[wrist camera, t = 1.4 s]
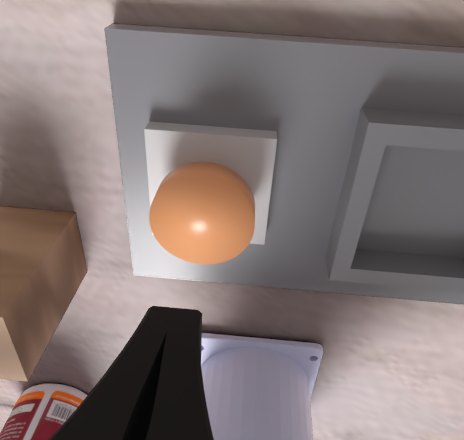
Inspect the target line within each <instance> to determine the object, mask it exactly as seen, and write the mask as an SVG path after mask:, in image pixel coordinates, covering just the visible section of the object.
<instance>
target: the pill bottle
mask: <svg viewBox="0 0 464 440" xmlns="http://www.w3.org/2000/svg"><path fill="white" fill-rule="evenodd" d="M86 397H87V394H85V393H84V392H82V391H80V390H78V389H76V388H73V387H71V386H67V385H61V384H40V385H35V386H32V387H30V388H28V389H27V390H25V391H24V392H23V393H22V394H21V396H20V397H19V399H18V401H17V402H16V404H15V406H14V408H13V410H12V412H11V414H10V416H9V418H8V420H7V422H6V423H5V425H4V427H3V429H2V431H1V433H0V440H49V439H50V438H51V436H52V435H53V434H54V433H55V432H56V431H57V430H58V429H59V428H60V427H61V426H62V425H63V423H64V422H65V421H66V420H67V419H68V418H69V417H70V416H71V414H72V413H73V412H74V411H75V410H76V409H77V408H78V406H79V405H80V404H81V403H82V402H83V400H84V399H85V398H86Z"/></svg>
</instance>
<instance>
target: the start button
mask: <svg viewBox="0 0 464 440" xmlns="http://www.w3.org/2000/svg"><path fill="white" fill-rule="evenodd" d="M149 222H150V227H151V230H152V233H153V235H154V237H155V238H156V240H157V241H158V242H159V244H160V245H161V246H162V247H163V248H164V249H165V250H167V251H168V252H169V253H171V254H172V255H174V256H176V257H177V258H180V259H182V260H184V261H187V262H191V263H196V264H217V263H222V262H226V261H228V260H231V259H233V258H234V257H236V256H238V255H239V254H240V253H242V252H243V251H244V250H245V249H246V247H247V246H248V245H249V243H250V241H251V240H252V237H253V234H254V228H255V199H254V196H253V193H252V191H251V189H250V187H249V186H248V184H247V183H246V182H245V180H244V179H243V178H242V177H241V176H239V175H238V174H237V173H235V172H234V171H233V170H231V169H229V168H227V167H225V166H222V165H219V164H215V163H210V162H193V163H188V164H185V165H182V166H180V167H178V168H176V169H174V170H173V171H171V172H170V173H169V174H168V175H167V176H166V177H165V178H164V179H163V180H162V182H161V184H160V186H159V188H158V190H157V192H156V195H155V197H154V199H153V201H152V204H151V207H150V211H149Z"/></svg>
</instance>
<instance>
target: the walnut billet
mask: <svg viewBox="0 0 464 440" xmlns="http://www.w3.org/2000/svg"><path fill="white" fill-rule="evenodd" d="M86 273H87V267H86V262H85V257H84V252H83V247H82V242H81V237H80V232H79V227H78V222H77V217H76V212H65V211H53V210H41V209H29V208H17V207H5V206H0V379H7V380H17V381H27V382H28V380H29V379H30V377H31V375H32V373H33V371H34V369H35V367H36V366H37V364H38V362H39V360H40V358H41V356H42V354H43V353H44V351H45V349H46V347H47V345H48V343H49V341H50V340H51V338H52V336H53V334H54V332H55V330H56V328H57V327H58V325H59V323H60V321H61V319H62V317H63V315H64V314H65V312H66V310H67V308H68V306H69V304H70V303H71V301H72V299H73V297H74V295H75V293H76V291H77V290H78V288H79V286H80V284H81V282H82V280H83V278H84V277H85V275H86Z"/></svg>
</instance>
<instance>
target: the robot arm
mask: <svg viewBox="0 0 464 440" xmlns="http://www.w3.org/2000/svg"><path fill="white" fill-rule="evenodd" d="M322 356H323V347H322V346H321V345H320V344H317V343H308V342H297V341H286V340H275V339H264V338H253V337H243V336H232V335H221V334H210V333H202V313H201V312H200V311H198V310H191V309H180V308H169V307H158V306H152V307H150V308H149V309H148V311H147V313H146V314H145V316H144V318H143V319H142V321H141V323H140V324H139V326H138V327H137V329H136V331H135V332H134V334H133V335H132V337H131V338H130V340H129V341H128V343H127V344H126V345H125V347H124V348H123V350H122V351H121V353H120V354H119V355H118V357H117V358H116V359H115V361H114V362H113V363H112V365H111V366H110V368H109V369H108V370H107V372H106V373H105V374H104V376H103V377H102V378H101V379H100V381H99V382H98V383H97V384H96V386H95V387H94V388H93V389H92V390H91V392H90V393H89V394H88V395H87V397H86V398H85V399H84V400H83V402H82V403H81V404H80V405H79V406H78V408H77V409H76V410H75V411H74V412H73V413H72V414H71V416H70V417H69V418H68V419H67V420H66V421H65V422H64V423H63V425H62V426H61V427H60V428H59V429H58V430H57V431H56V432H55V433H54V434H53V435H52V436H51V438H50V439H49V440H313V430H312V418H311V407H310V399H311V395H312V391H313V388H314V384H315V381H316V377H317V374H318V370H319V366H320V363H321V359H322Z"/></svg>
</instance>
